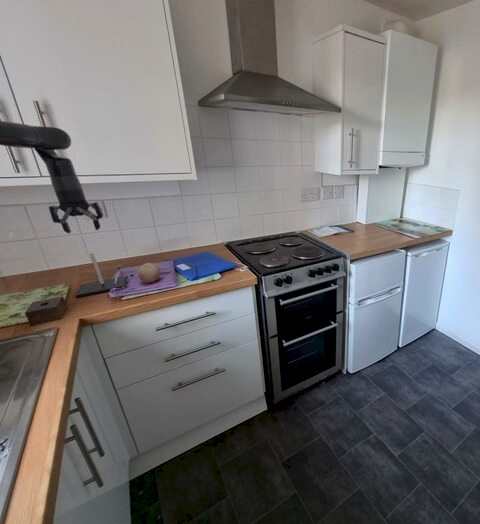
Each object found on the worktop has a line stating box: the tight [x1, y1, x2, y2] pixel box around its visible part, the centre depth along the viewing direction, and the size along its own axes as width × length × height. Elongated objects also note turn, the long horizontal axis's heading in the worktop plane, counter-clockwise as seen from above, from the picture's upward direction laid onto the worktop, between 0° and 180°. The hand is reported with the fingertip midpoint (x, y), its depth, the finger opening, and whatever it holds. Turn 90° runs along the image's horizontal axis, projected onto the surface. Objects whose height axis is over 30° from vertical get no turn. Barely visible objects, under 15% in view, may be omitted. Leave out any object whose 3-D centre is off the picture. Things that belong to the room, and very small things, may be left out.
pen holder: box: [24, 295, 69, 326], centre depth 104 cm, size 8×8×5 cm
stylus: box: [89, 252, 104, 286], centre depth 121 cm, size 1×1×14 cm
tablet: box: [75, 275, 129, 299], centre depth 124 cm, size 16×11×1 cm
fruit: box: [137, 262, 161, 284], centre depth 128 cm, size 8×8×8 cm
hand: (83, 231), depth 114 cm, fingers open, 8 cm apart
